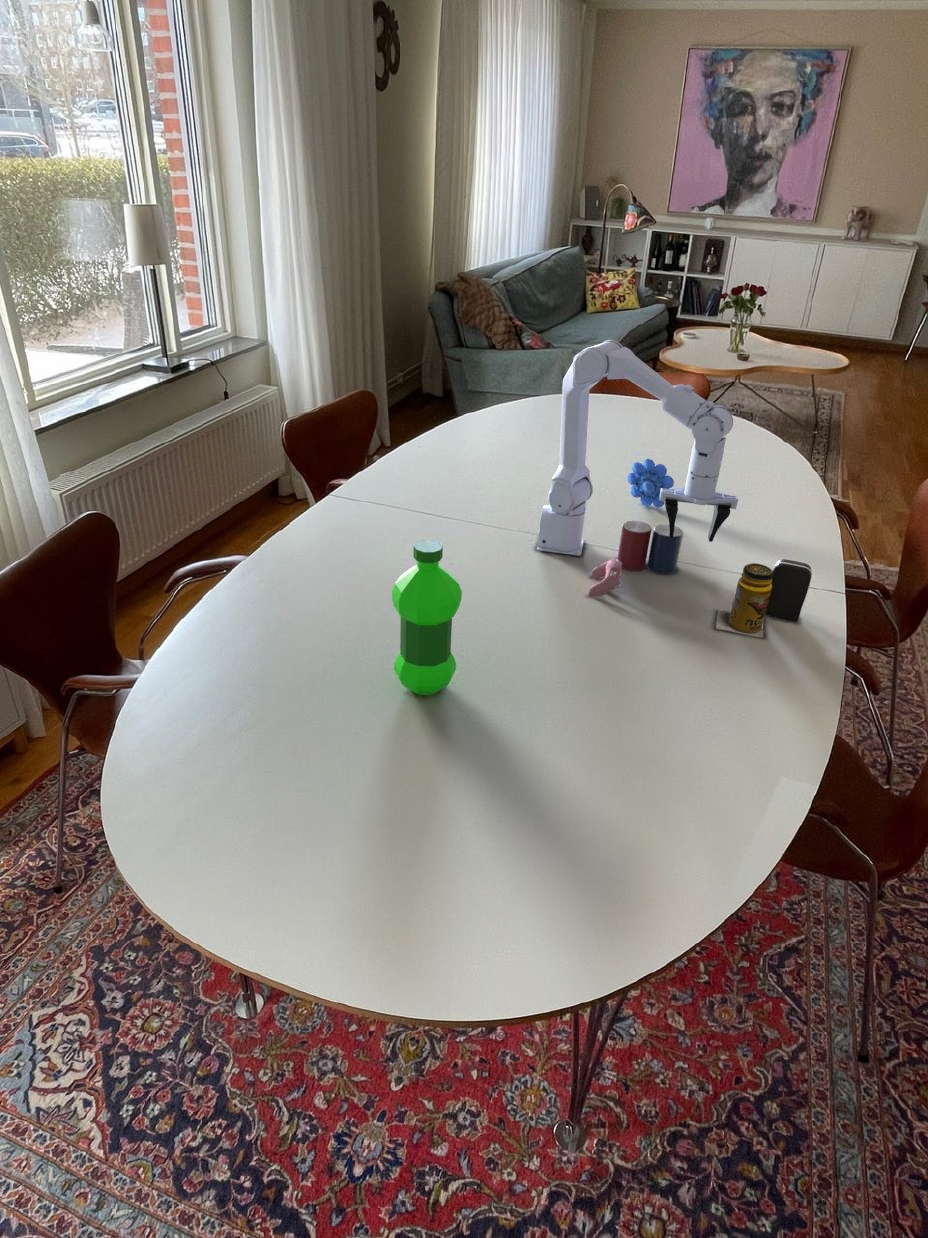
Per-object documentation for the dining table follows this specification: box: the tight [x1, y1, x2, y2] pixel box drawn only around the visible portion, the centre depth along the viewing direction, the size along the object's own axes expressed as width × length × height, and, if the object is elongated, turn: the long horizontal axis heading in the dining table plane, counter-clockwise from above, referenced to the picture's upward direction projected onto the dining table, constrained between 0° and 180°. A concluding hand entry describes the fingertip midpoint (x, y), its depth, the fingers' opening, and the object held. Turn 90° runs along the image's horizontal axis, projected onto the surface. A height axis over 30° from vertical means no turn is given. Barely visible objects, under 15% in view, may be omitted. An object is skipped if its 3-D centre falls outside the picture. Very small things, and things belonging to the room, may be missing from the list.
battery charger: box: [765, 558, 813, 623], centre depth 158 cm, size 7×4×11 cm, turn 68°
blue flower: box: [626, 458, 675, 509], centre depth 202 cm, size 12×7×12 cm, turn 68°
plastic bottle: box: [391, 539, 463, 696], centre depth 129 cm, size 10×10×25 cm
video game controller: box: [588, 557, 623, 598], centre depth 166 cm, size 10×5×7 cm, turn 168°
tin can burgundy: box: [616, 520, 652, 571], centre depth 175 cm, size 6×6×9 cm
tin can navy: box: [646, 524, 684, 575], centre depth 174 cm, size 6×6×9 cm
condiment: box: [715, 562, 773, 638], centre depth 154 cm, size 7×8×12 cm
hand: (690, 537), depth 165 cm, fingers open, 7 cm apart
